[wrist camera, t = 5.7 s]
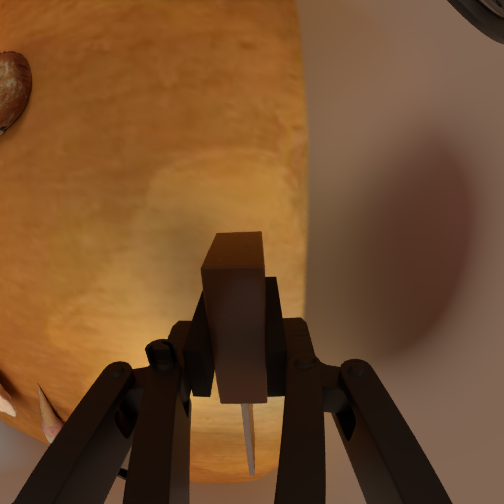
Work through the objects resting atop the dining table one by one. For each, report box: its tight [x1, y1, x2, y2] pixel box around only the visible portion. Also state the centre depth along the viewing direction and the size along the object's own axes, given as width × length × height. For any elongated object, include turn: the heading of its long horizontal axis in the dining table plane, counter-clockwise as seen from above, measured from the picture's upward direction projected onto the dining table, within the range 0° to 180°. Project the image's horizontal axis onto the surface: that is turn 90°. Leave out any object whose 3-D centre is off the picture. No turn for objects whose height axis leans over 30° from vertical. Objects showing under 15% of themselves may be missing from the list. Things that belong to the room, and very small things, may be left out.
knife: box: [201, 231, 267, 475], centre depth 17 cm, size 19×2×5 cm, turn 2°
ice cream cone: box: [38, 384, 63, 443], centre depth 34 cm, size 5×5×15 cm
